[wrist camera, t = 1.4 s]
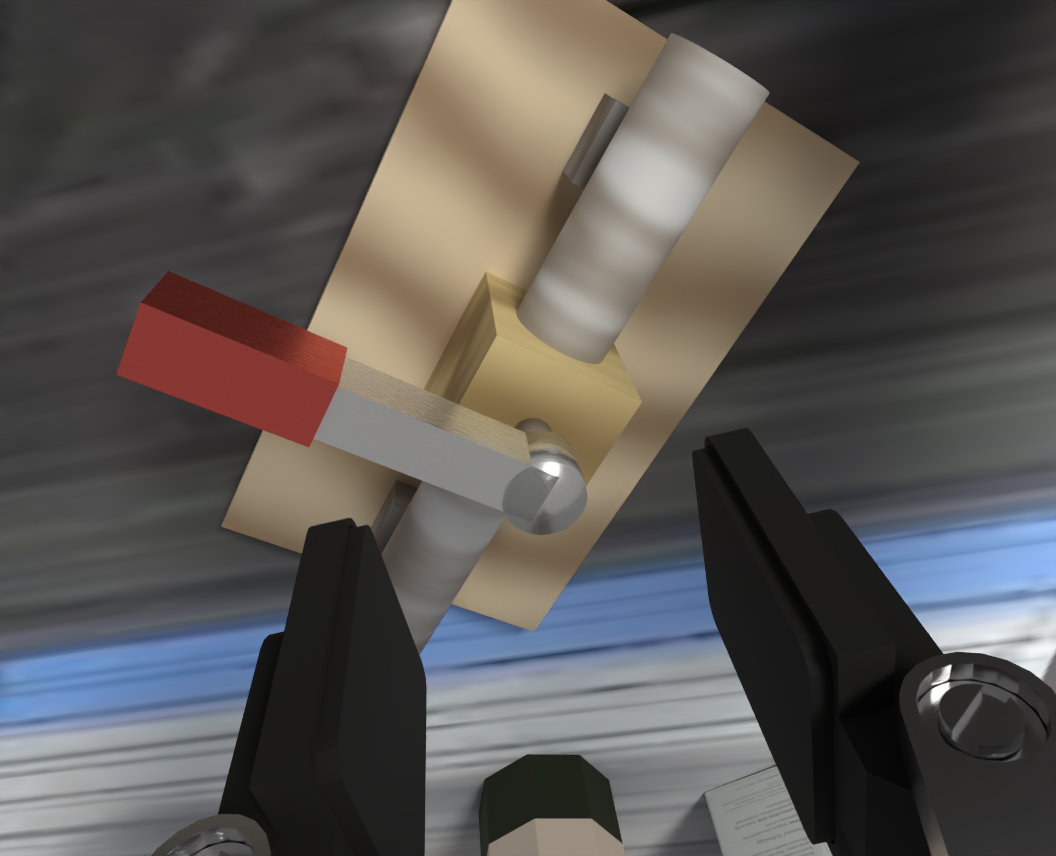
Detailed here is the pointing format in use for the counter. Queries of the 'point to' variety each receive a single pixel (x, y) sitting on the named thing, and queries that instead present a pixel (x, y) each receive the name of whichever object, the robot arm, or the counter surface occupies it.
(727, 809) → the skincare box
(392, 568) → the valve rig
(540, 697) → the counter surface
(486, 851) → the wine bottle
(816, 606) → the robot arm
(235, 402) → the valve lever
